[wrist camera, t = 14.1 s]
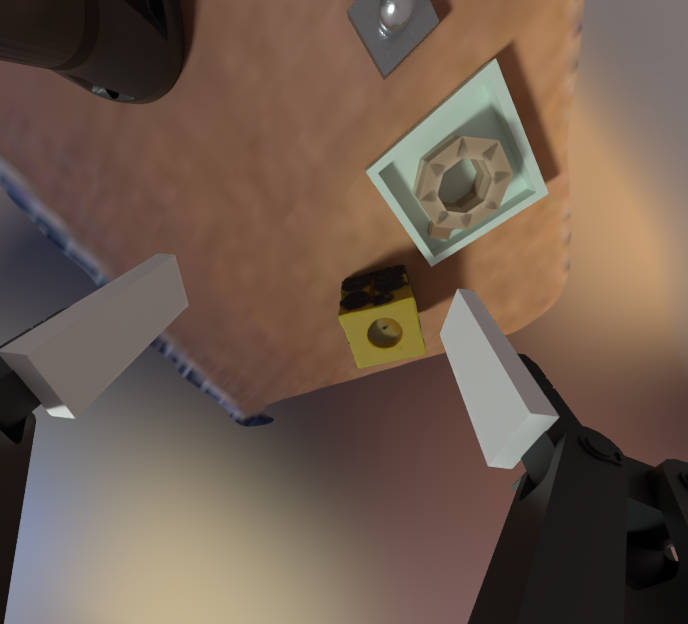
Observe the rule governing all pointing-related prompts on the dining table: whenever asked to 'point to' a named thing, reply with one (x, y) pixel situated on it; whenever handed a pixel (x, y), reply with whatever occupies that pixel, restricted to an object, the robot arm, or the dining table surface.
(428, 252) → the tray
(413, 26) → the grey peg stand
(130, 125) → the dining table surface
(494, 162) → the ring
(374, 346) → the yellow cube with holes
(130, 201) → the dining table surface
